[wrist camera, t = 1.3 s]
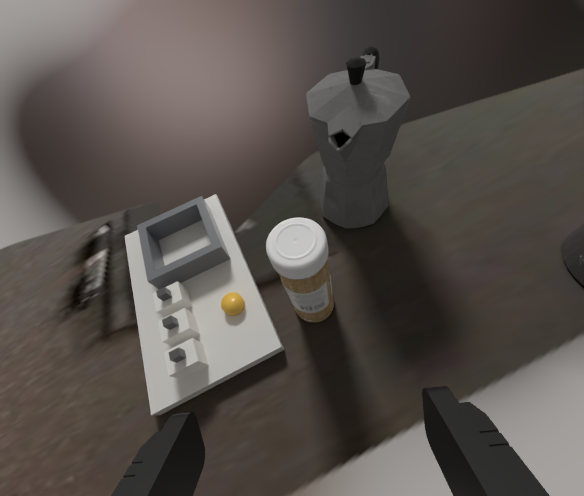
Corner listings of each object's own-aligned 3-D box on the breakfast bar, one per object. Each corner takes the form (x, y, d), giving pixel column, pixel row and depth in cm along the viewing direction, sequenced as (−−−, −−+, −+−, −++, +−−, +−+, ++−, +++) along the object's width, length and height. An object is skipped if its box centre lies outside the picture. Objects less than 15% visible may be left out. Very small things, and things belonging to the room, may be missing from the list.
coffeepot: (379, 250, 34) (405, 113, 19) (305, 235, 37) (275, 106, 22) (399, 160, 41) (429, 6, 26) (335, 153, 44) (328, 12, 29)
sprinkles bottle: (336, 287, 33) (331, 217, 21) (331, 327, 30) (321, 271, 19) (297, 283, 34) (272, 213, 22) (289, 320, 31) (257, 264, 20)
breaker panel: (219, 200, 43) (205, 176, 38) (284, 349, 30) (274, 337, 26) (131, 241, 41) (106, 221, 37) (160, 415, 29) (126, 414, 24)
